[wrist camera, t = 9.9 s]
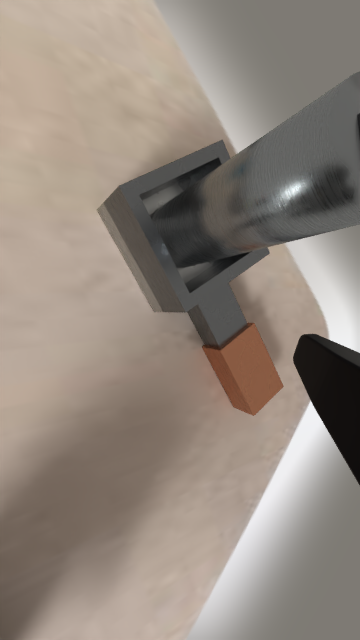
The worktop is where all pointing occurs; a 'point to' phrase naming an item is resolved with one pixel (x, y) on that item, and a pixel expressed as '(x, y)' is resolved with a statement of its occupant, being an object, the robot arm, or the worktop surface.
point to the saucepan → (193, 278)
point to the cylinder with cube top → (274, 186)
